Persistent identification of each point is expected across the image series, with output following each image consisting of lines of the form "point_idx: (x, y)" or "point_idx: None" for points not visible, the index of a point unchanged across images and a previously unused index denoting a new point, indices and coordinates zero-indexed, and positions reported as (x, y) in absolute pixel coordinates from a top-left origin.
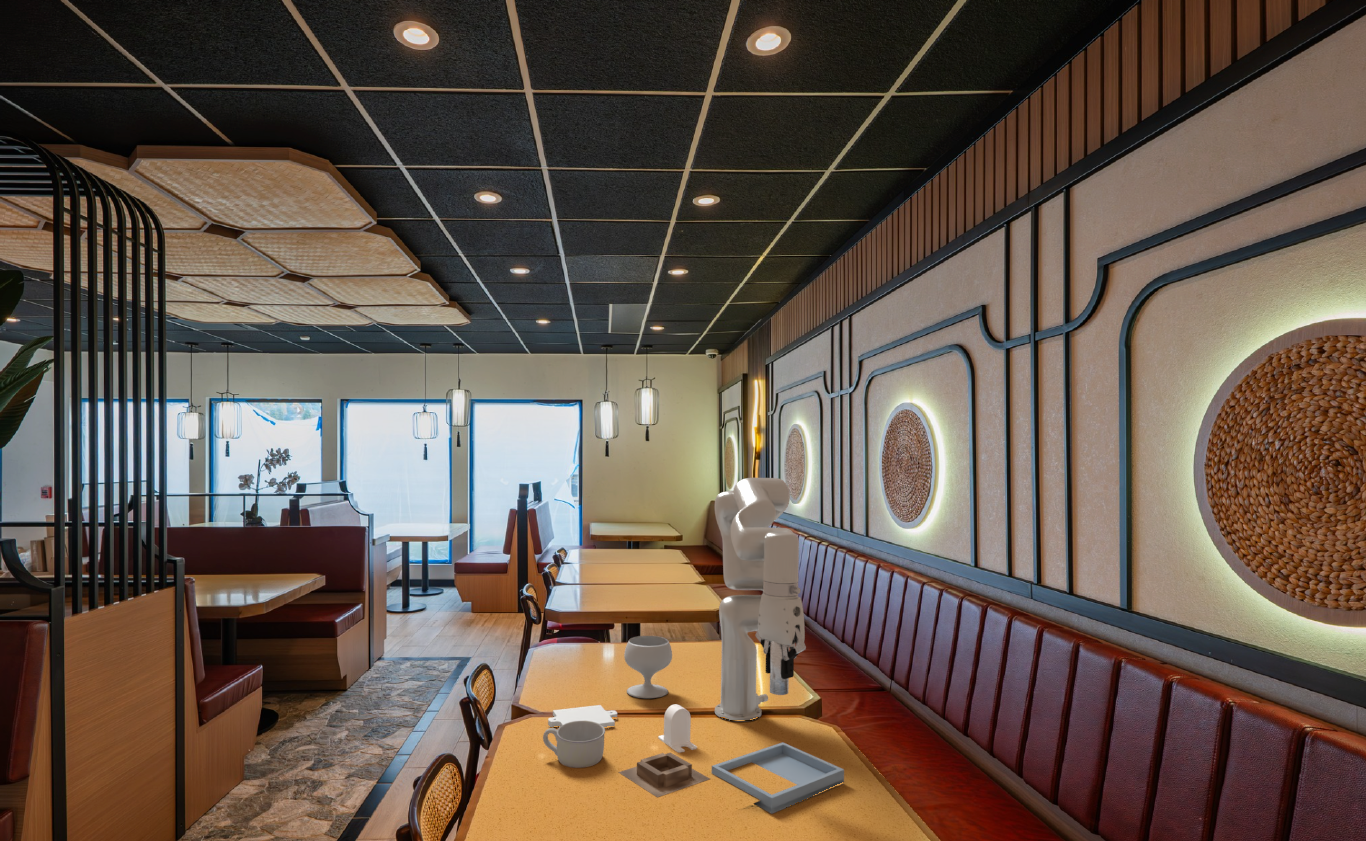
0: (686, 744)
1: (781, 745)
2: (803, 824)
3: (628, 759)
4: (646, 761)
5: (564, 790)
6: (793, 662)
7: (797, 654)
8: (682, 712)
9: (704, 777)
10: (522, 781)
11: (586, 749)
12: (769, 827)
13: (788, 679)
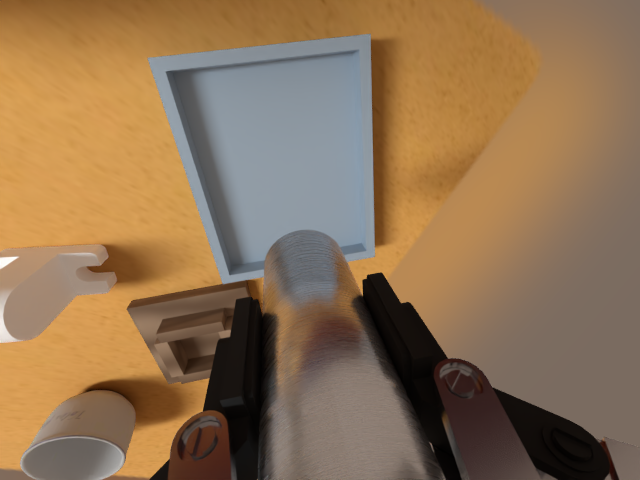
0: (74, 266)
1: (167, 78)
2: (415, 222)
3: (96, 348)
4: (182, 372)
5: (182, 423)
6: (443, 352)
7: (539, 415)
8: (13, 320)
9: (236, 293)
10: (140, 452)
11: (128, 441)
12: (391, 265)
13: (350, 274)
